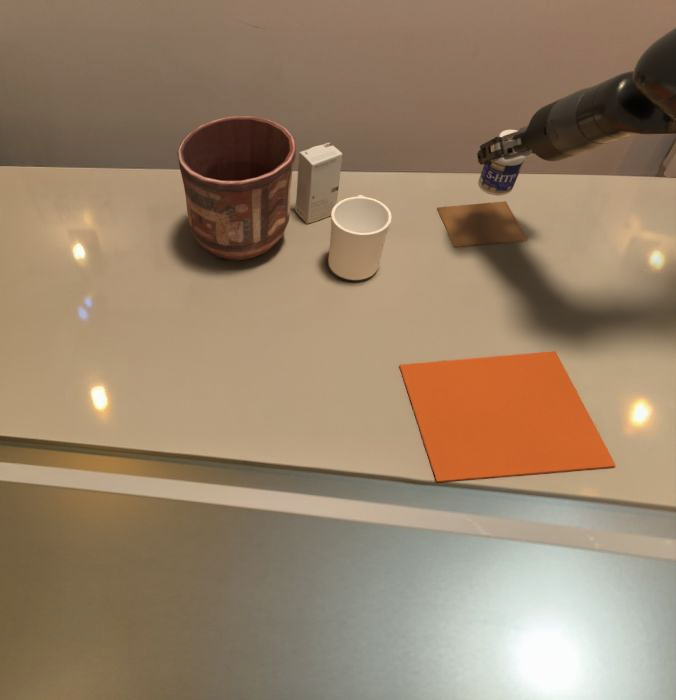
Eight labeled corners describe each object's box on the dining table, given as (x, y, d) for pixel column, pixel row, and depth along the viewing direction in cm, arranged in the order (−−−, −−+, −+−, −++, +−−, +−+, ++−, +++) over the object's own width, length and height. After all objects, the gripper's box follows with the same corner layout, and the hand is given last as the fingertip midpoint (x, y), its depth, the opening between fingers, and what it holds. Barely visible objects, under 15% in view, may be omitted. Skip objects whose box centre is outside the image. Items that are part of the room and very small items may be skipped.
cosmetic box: (307, 225, 106) (311, 166, 96) (294, 211, 108) (297, 151, 99) (337, 213, 107) (344, 154, 98) (323, 200, 110) (329, 140, 100)
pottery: (276, 282, 98) (279, 191, 84) (174, 264, 102) (161, 173, 88) (301, 213, 108) (307, 121, 94) (207, 199, 112) (200, 108, 98)
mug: (381, 286, 96) (392, 236, 88) (324, 282, 97) (330, 233, 89) (380, 239, 102) (390, 189, 94) (327, 236, 104) (332, 187, 96)
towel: (554, 352, 86) (555, 351, 86) (614, 467, 75) (616, 465, 74) (399, 366, 86) (399, 364, 86) (436, 482, 75) (436, 481, 75)
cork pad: (505, 202, 106) (505, 201, 106) (527, 240, 100) (527, 239, 100) (436, 208, 106) (437, 207, 106) (454, 247, 100) (455, 245, 100)
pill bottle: (477, 194, 96) (495, 145, 89) (477, 175, 99) (493, 125, 92) (513, 198, 95) (533, 148, 88) (511, 178, 98) (531, 128, 91)
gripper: (622, 84, 78) (536, 121, 95) (519, 104, 77) (451, 138, 93) (630, 143, 79) (543, 169, 96) (528, 164, 77) (458, 187, 94)
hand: (498, 154), depth 94 cm, fingers closed on pill bottle, 5 cm apart
